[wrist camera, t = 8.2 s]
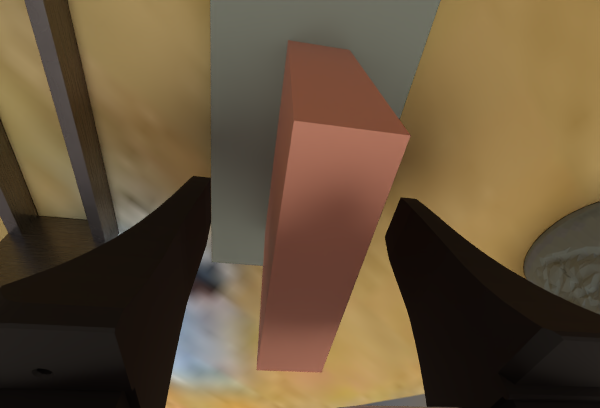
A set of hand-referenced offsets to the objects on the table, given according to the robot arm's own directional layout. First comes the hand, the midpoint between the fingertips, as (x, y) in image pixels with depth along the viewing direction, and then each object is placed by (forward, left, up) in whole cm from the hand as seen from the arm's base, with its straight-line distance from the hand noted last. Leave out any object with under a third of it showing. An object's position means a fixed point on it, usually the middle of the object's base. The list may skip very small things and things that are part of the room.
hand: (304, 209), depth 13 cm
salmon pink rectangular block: (0, 0, -4) cm, 4 cm away
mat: (0, 0, -5) cm, 5 cm away
